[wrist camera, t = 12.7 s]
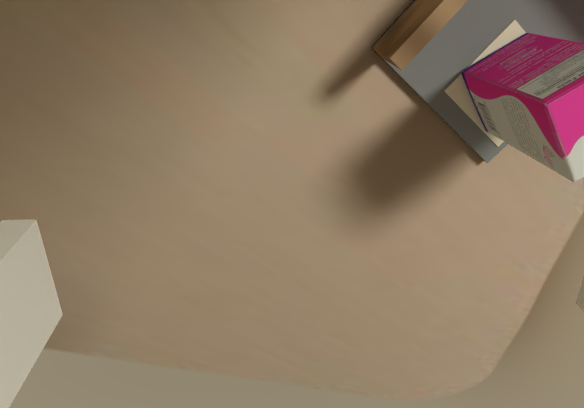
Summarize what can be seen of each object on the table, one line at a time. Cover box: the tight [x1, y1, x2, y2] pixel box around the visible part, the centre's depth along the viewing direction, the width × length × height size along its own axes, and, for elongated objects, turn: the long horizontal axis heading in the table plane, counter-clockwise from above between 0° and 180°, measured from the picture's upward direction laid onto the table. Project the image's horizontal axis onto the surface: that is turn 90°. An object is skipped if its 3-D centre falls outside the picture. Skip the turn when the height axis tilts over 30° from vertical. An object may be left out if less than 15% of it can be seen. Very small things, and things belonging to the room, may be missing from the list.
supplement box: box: [461, 33, 584, 182], centre depth 34 cm, size 6×6×12 cm
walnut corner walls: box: [371, 0, 468, 70], centre depth 36 cm, size 16×14×5 cm
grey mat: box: [372, 0, 584, 163], centre depth 38 cm, size 16×14×1 cm
